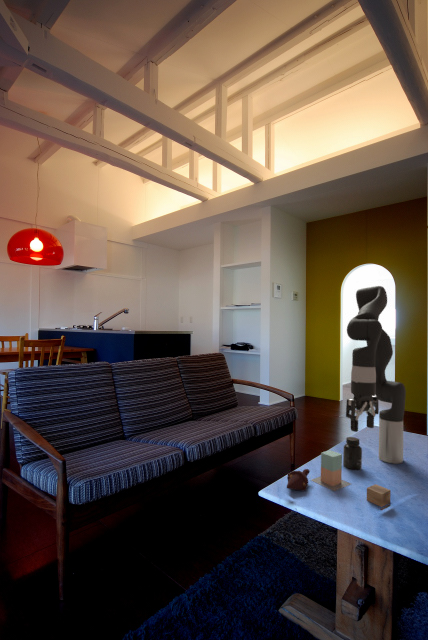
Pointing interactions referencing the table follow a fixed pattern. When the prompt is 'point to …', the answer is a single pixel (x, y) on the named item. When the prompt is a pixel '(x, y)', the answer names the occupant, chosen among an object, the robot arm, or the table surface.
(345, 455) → the supplement bottle
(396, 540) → the table surface
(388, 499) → the walnut brick
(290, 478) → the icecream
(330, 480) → the base brick
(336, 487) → the plate
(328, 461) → the teal brick
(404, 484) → the table surface
